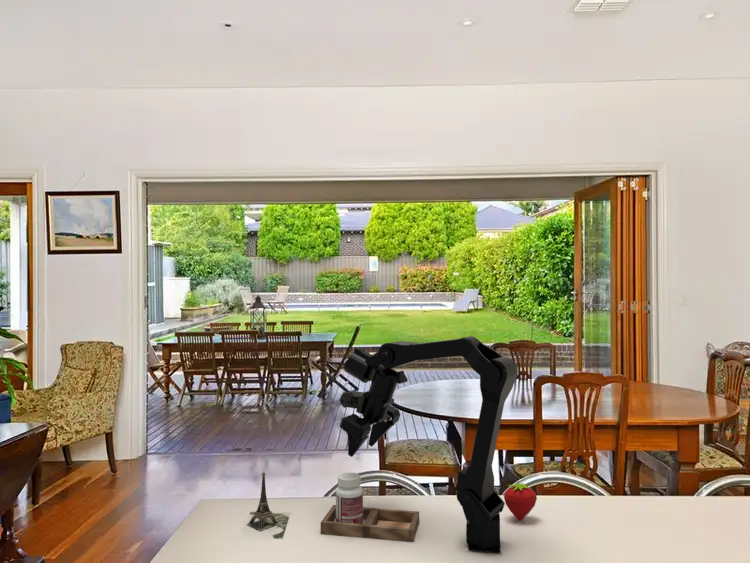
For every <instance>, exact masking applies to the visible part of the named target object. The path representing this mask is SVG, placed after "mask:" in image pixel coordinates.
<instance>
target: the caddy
mask: <svg viewBox="0 0 750 563" xmlns="http://www.w3.org/2000/svg"><path fill="white" fill-rule="evenodd" d="M419 525H420V511H418V510H403V509H391V508H390V509H389V508H378V507H367V506H365V507H364V506H363V524H356V523H344V522H336V504H333V505H332V506H331V507H330V509H329V510H328V511H327V513H326V515H325V516H324V517H323V519H321V521H320V535H326V536H327V535H330V536H337V537H338V536H339V537H351V538H361V539H372V540H373V539H374V540H383V541H398V542H407V543H408V542H409V543H414V542H415V537H416V534H417V531H418V528H419Z"/></svg>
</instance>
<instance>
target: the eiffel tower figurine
mask: <svg viewBox="0 0 750 563" xmlns="http://www.w3.org/2000/svg"><path fill="white" fill-rule="evenodd" d="M262 471H263V472H262V473H261V488H260V489H261V490H260V498H259V501H258V506H257V509H256V511H250V512H249V514H248V515H249V516H250V515H251V516H252V517H251V519H250V520H249V522H248V523H246V526H247V527H250V528H252V529H254V530H256V531H258V532H265V531H267V530H269V529H271V528H275V527H278V528H281V529H282V531H280V532H279V533H276V534H273V535H272V537H273V539H275V540H277V539H283V538H284V535H285V532H286V529H287V526H288V524H289V519H290V517H289V516H288V515H285V514H283V513H279V512H278V513H274V512H273V511H271V509H270V506H269V504H268V503H269V502H268V499H267V492H266V473H265V470H262ZM256 519H258V520H256Z"/></svg>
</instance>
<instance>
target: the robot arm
mask: <svg viewBox="0 0 750 563" xmlns="http://www.w3.org/2000/svg"><path fill="white" fill-rule="evenodd" d="M451 357H462V358H464V360H465V361H466V362H467V363H468V365H469V366H470V368H471V369H472V370H473V371H474V372H475V373H476V374H478V375H479V388H480V389H479V390H480V394H481V399H482V401H481V405H480V411H479V416H478V421H477V425H476V426H477V427H476V432H475V437H474V440H473V441H474V442H473V448H472V451H471V452H472V453H471V457H470V458H471V459H470V463H469V464H468V465H466V466H465V467H464V468H462V469H461V470H459V471H458V472H457V482H456V486H455V488H454V491H456V499H457V501H458V502H459V504H460V506H461V507H462V511H463V514H464V517H465V520H466V525H465V526H466V529H465V531H466V532H465V538H466V539H465V540H466V541H465V544H467V545H468V546H467V549H468V551H470V552H471V551H472V552H482V553H494V554H501V552H502V548H501V547H502V545H501V516H500V515H501V514H500V513H502V512H503V510H504V507H505V505H506V503H505V500H503V499H502V497H501V496H500V495H499V494H498V493H497V491H496V490H495V475H494V471H493V470H494V469H493V463H494V457H495V452H496V448H497V447H496V446H497V441H498V437H499V433H500V432H499V431H500V426H501V422H502V417H503V412H504V407H505V402H506V400H507V398H508V396H509V394H510V393H511V391H512V390H513V388H514V385H515V382H516V380H517V377H518V373H519V368H518V366H517V365H516V363H515V361H514V360H513V359H511V358H509V357H507V356H506V357H505V356H502V354H501V353H498V351H496V350H494V349H493V348H491V347H490V346H487V345H486V344H484V343H483V342H481V340H479V339H478V338H477V337H475V336H472V335H470V336H464V337H460V338H454V339H448V340H447V339H445V340H439V341H438V340H437V341H431V342H423V343H422V342H414V341H406V340H405V341H403V340H400V341H398V340H397V341H393V342H392V341H391V342H386V343H383V344H381V345H380V347H379V349H378V352H375V353H374V354H372V353H369V352H367V351H366V350H365V349H363V348H362V347H357V348H356V347H355V349H354V350H353V352H352V353H351V354H350V355H349V356H348V358H347V360H345V361H344V366H343V369H344V372H345V373H346V374H348V375H350V376H352V377H354V379H357V380H358V381H359V382H362V383H363V384H364V383H369V382H371V384H370V385H369V389H368V390H367V391H365V392H364V391H357V390H356V391H355V390H350V391H343V392H342V394H340V398H339V400H338V401H339V402H340V405H341V406H342V408H345V409H346V408H348V409H355V412H356V413H358V414H361V416H362V417H361V416H359V415H357V414H355V413H352V414H350V415H347V416H344V417H342V418H341V420H340V423H339V428H340V429H342V430H343V431H344V432H346V435H347V455H348V456H349V457H351V458H353V457H354V455H356V453H357V452H358V451H359V450H360V448H361V447H362V446H363V445H364V443H365V442H366V441H367V440H368V439H369V440H368V446H370V447H373V446H374V445H375V444H376V443H378V442H379V440H380V439H381V438H382V437H383V436H384V435H385V434H386V433H387V432H388V431H389V430H391V429H392V427H393V426H394V425H395V424H396V423H398V422H399V420H400V417H401V412H400V410H399V409H398V408H396V407H394V406H392V404H394V402H395V399H394V398H393V397H394V393H395V391H396V388H397V386H398V385H401V384H404V383H408V381H409V379H408V378H407V376H406V375H405V371H404V370H399V371H398V370H395V369H394V368H397V367H402V366H405V365H409V364H411V363H412V364H413V363H415V362H418V361H423V360H431V359H441V358H443V359H444V358H451ZM369 434H370V435H369Z"/></svg>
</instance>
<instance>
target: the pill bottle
mask: <svg viewBox="0 0 750 563" xmlns="http://www.w3.org/2000/svg"><path fill="white" fill-rule="evenodd" d="M361 483H362V481H361V475H360V474H359V473H356V472H344V473H343V472H342V473H341V474H338V476H337V485H338V486H337V488H336V489H335V505H336V519H335V522H344V523H356V524H364V520H363V507H364V491H363V487H362V486H361Z"/></svg>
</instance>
